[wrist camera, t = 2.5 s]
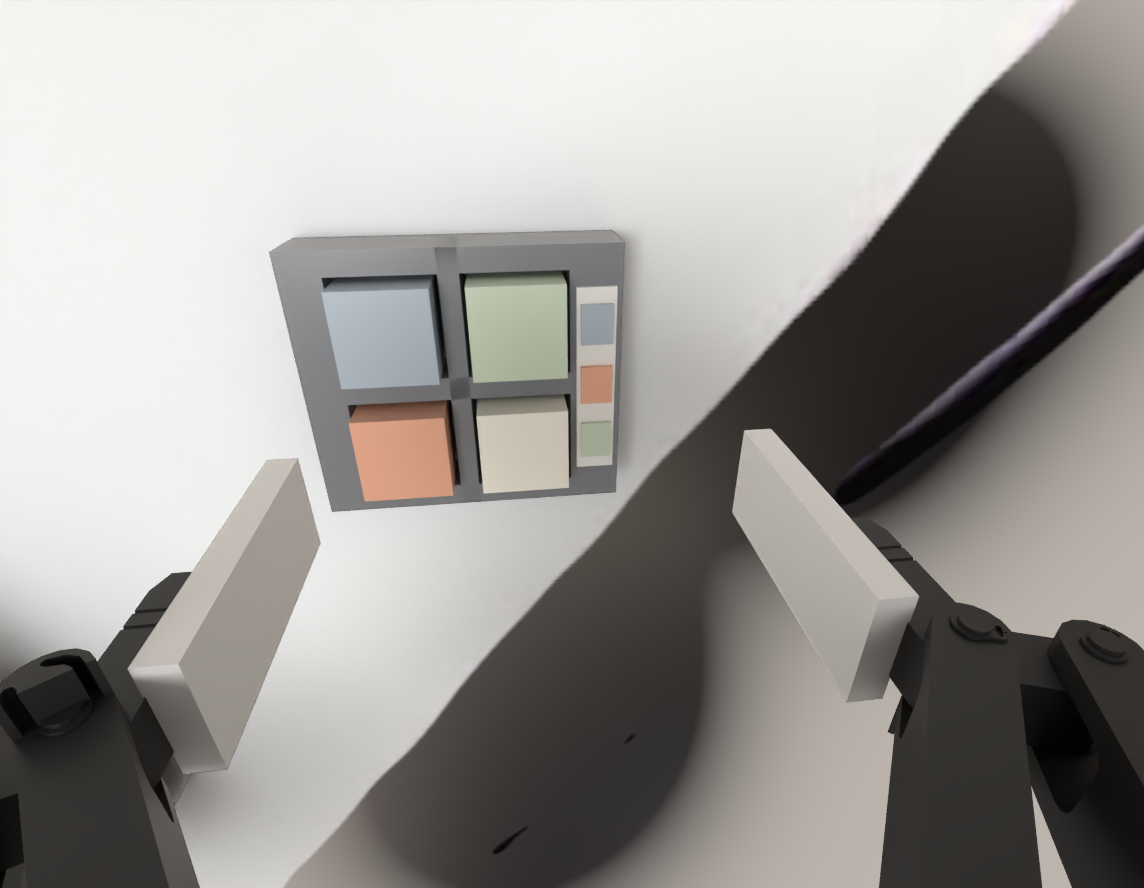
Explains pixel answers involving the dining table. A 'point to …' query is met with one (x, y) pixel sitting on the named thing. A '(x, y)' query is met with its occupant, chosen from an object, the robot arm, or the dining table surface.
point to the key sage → (517, 325)
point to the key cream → (523, 443)
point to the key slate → (385, 330)
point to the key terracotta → (404, 449)
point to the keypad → (462, 348)
